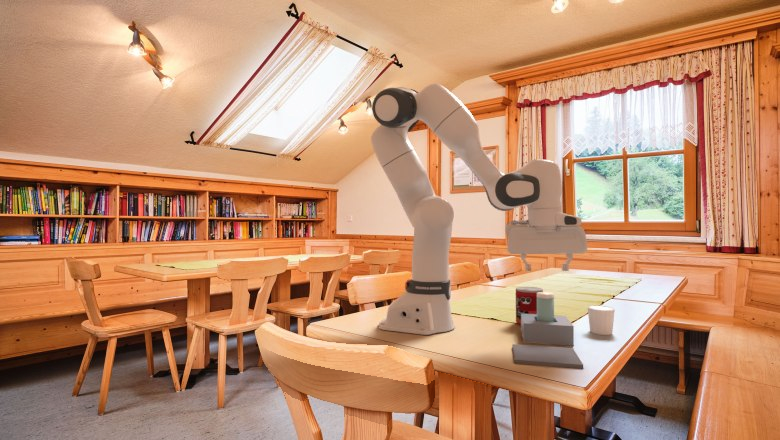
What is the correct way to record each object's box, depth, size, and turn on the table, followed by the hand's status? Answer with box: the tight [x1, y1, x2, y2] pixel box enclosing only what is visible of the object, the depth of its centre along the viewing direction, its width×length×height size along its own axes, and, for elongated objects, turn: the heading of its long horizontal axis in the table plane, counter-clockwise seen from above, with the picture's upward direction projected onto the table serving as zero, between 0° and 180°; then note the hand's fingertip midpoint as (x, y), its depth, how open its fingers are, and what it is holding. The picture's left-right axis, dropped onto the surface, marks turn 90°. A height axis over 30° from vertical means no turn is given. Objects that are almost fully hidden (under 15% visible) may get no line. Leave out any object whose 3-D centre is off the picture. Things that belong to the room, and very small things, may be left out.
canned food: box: [515, 286, 544, 326], centre depth 126 cm, size 8×8×11 cm
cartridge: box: [537, 291, 555, 322], centre depth 111 cm, size 4×4×12 cm
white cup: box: [587, 305, 616, 336], centre depth 117 cm, size 7×7×7 cm
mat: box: [512, 343, 584, 370], centre depth 95 cm, size 14×12×1 cm
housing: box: [520, 314, 575, 347], centre depth 111 cm, size 12×12×5 cm
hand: (546, 270), depth 111 cm, fingers open, 8 cm apart
